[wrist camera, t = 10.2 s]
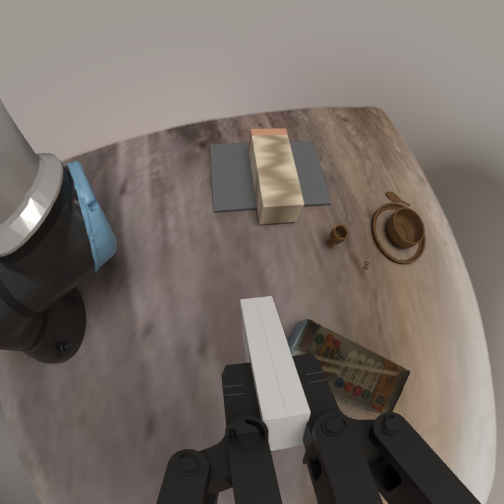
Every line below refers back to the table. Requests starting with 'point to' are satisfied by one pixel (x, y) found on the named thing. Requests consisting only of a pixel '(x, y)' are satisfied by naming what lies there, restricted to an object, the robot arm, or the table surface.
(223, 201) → the rubber mat
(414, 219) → the place setting
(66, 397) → the table surface
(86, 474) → the table surface
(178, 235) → the table surface
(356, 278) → the table surface
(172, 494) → the robot arm
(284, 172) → the birch block
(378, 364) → the beverage carton
